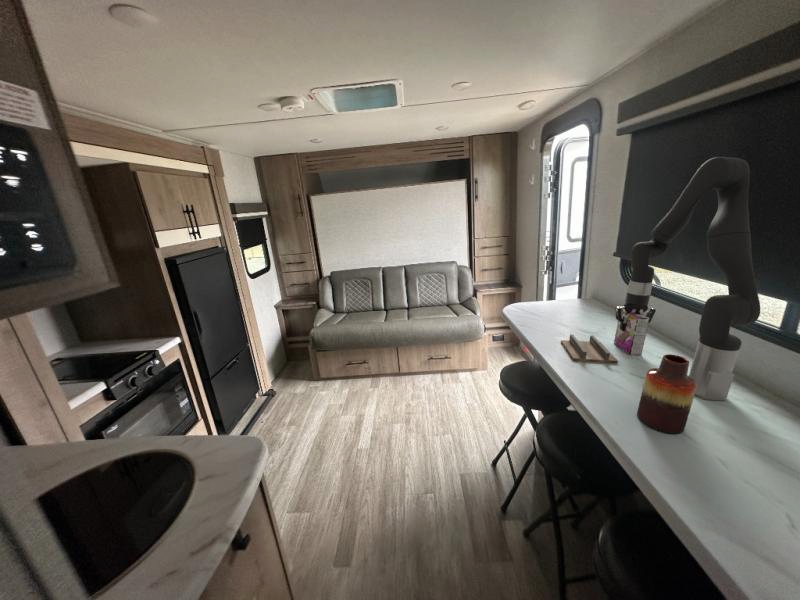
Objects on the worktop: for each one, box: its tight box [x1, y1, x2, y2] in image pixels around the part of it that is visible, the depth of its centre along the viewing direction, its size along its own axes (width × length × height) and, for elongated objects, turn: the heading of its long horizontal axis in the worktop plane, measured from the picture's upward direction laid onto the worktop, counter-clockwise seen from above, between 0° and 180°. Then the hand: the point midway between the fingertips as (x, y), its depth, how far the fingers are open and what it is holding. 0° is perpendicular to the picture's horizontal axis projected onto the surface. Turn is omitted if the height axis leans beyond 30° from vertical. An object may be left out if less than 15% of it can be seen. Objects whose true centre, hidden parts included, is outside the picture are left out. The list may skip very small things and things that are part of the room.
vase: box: [636, 353, 697, 435], centre depth 89 cm, size 11×11×20 cm
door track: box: [560, 333, 619, 365], centre depth 132 cm, size 16×17×4 cm
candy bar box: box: [613, 310, 650, 356], centre depth 132 cm, size 11×5×16 cm, turn 179°
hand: (630, 330), depth 132 cm, fingers closed on candy bar box, 5 cm apart
